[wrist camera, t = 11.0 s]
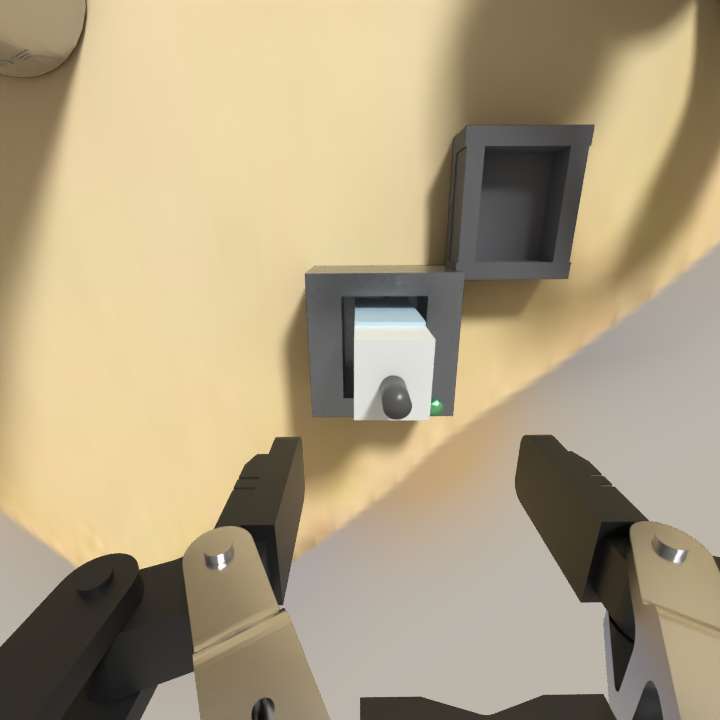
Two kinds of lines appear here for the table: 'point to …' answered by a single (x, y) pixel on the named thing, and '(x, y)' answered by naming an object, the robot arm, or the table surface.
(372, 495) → the table surface
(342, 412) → the port
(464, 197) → the box
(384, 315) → the plug
